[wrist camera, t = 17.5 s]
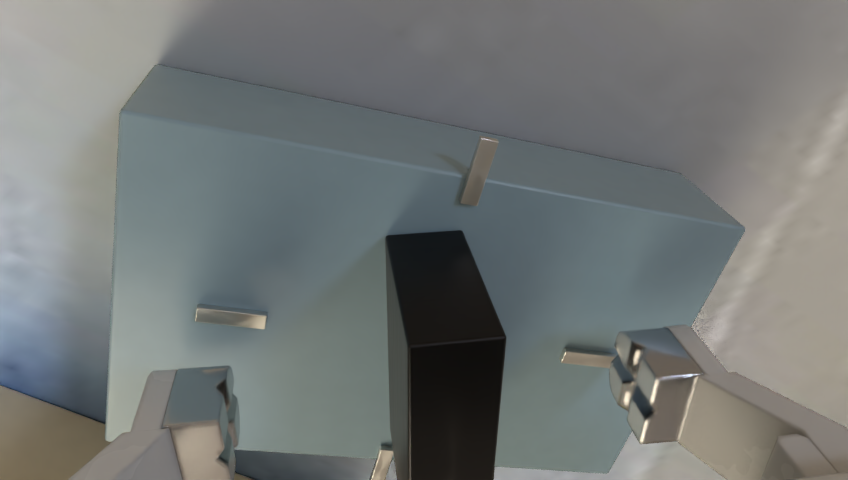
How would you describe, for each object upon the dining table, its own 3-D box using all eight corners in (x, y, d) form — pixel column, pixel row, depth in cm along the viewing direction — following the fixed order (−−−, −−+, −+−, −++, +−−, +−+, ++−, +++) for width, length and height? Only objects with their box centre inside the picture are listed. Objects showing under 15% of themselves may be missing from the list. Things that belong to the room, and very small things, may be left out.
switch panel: (696, 142, 16) (772, 197, 14) (561, 418, 21) (599, 500, 18) (157, 21, 13) (118, 63, 10) (132, 380, 18) (100, 474, 15)
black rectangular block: (384, 234, 13) (409, 356, 10) (463, 228, 13) (512, 346, 10) (389, 429, 16) (410, 574, 13) (453, 422, 16) (490, 563, 13)
